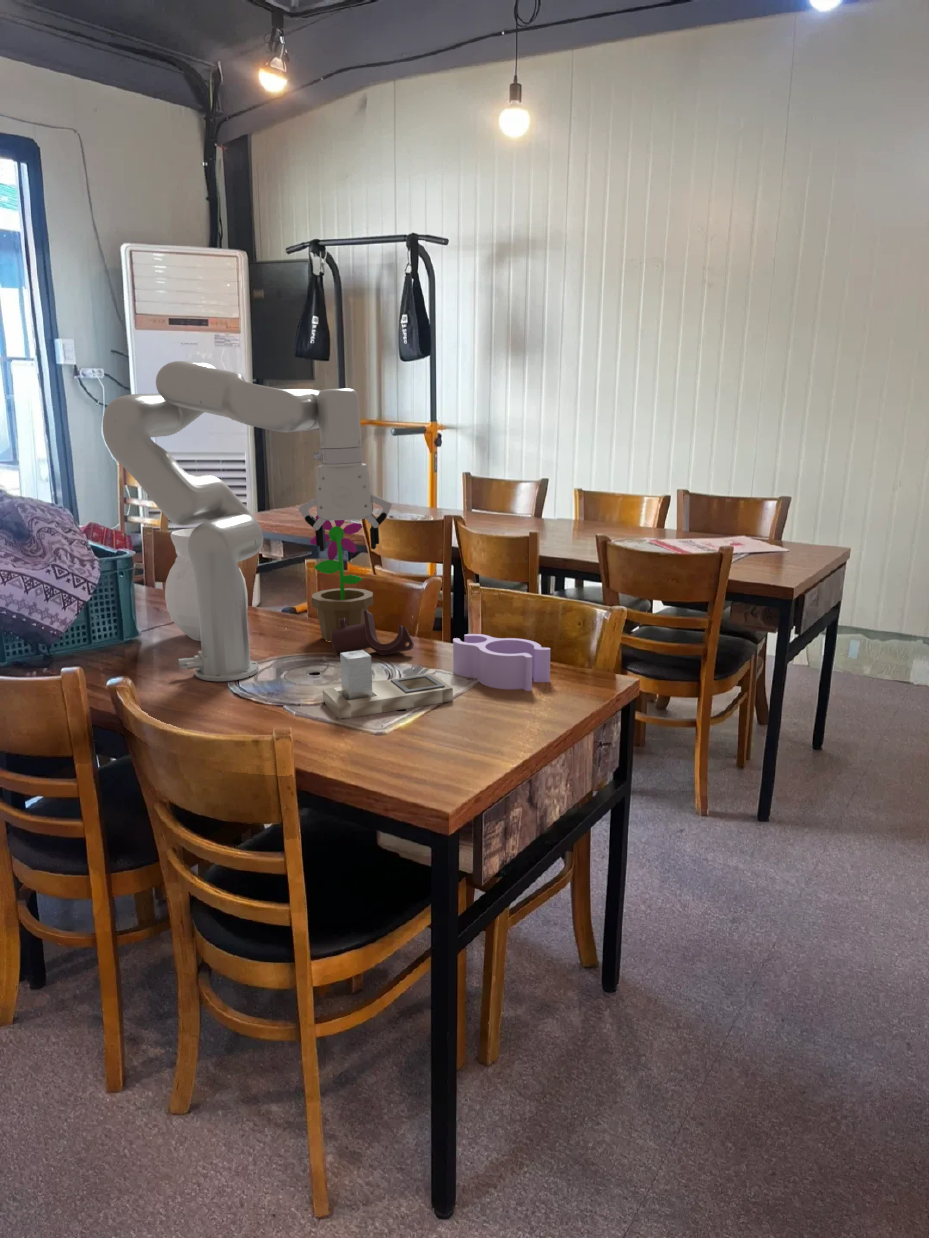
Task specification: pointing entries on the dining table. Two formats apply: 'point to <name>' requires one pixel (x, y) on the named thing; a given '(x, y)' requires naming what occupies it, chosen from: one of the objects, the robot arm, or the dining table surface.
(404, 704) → the pegboard
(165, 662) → the dining table surface
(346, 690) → the peg
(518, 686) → the clip
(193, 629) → the pitcher
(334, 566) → the flowerpot
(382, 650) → the bracket
